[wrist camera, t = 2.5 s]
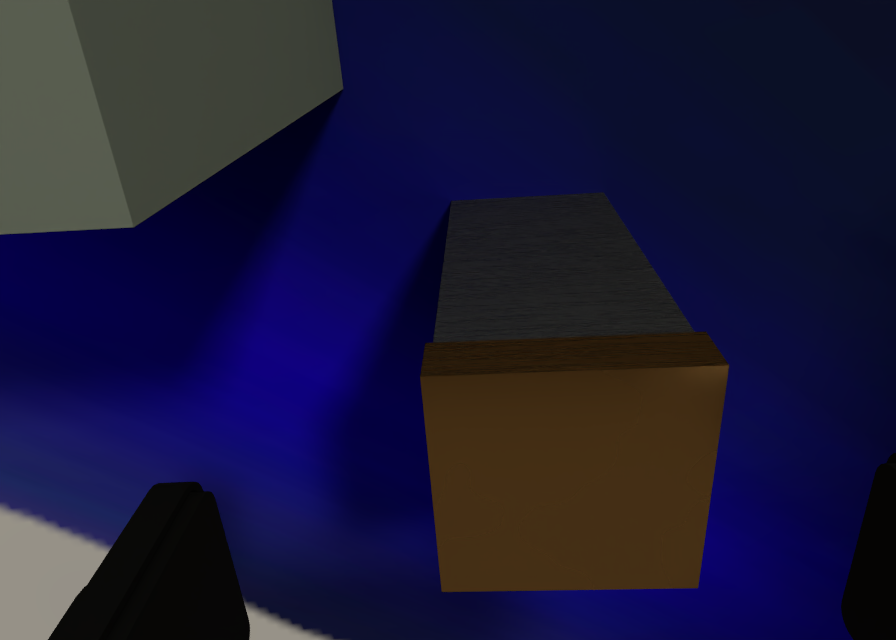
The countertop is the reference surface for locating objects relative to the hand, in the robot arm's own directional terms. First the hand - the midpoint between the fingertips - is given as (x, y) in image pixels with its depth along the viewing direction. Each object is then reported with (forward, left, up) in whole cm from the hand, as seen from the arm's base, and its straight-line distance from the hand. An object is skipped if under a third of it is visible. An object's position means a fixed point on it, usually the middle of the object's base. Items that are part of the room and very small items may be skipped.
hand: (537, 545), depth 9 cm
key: (-1, 0, -10) cm, 10 cm away
